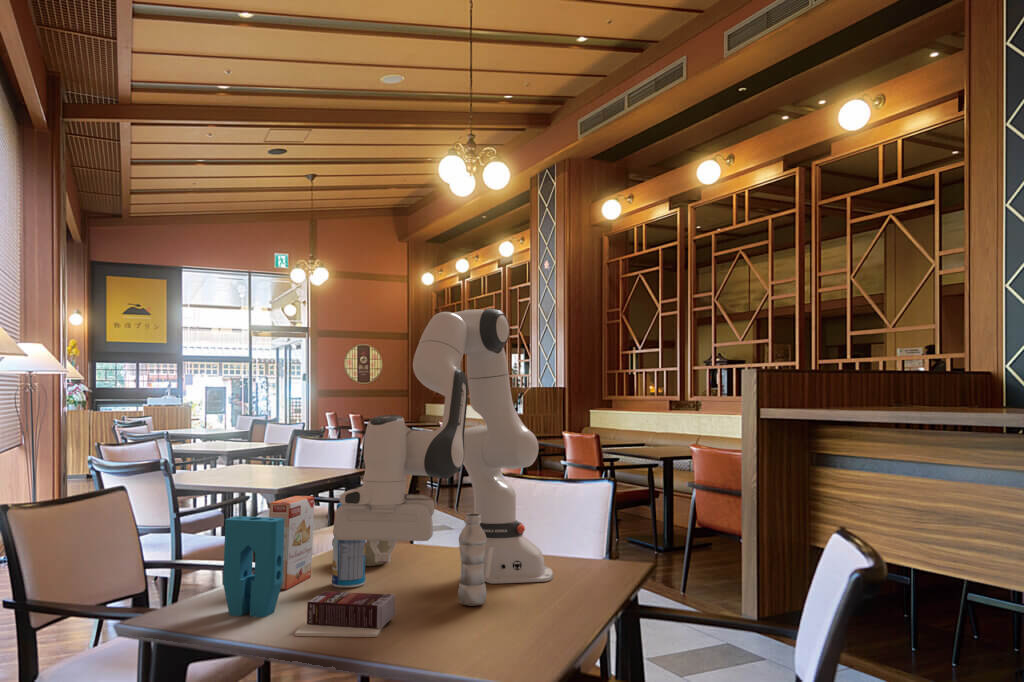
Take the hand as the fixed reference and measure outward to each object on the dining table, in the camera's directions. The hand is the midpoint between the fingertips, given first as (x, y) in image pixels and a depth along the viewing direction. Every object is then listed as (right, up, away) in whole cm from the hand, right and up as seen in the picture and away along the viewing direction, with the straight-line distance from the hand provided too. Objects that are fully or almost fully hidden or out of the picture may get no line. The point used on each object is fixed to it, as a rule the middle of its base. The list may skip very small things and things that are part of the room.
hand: (382, 562), depth 151 cm
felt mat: (-8, -13, -1) cm, 15 cm away
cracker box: (-29, -16, +33) cm, 47 cm away
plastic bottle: (+18, -14, +15) cm, 27 cm away
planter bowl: (-14, -17, +56) cm, 60 cm away
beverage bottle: (-14, -16, +32) cm, 38 cm away
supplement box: (+2, -10, -1) cm, 10 cm away
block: (-30, -13, +7) cm, 33 cm away
